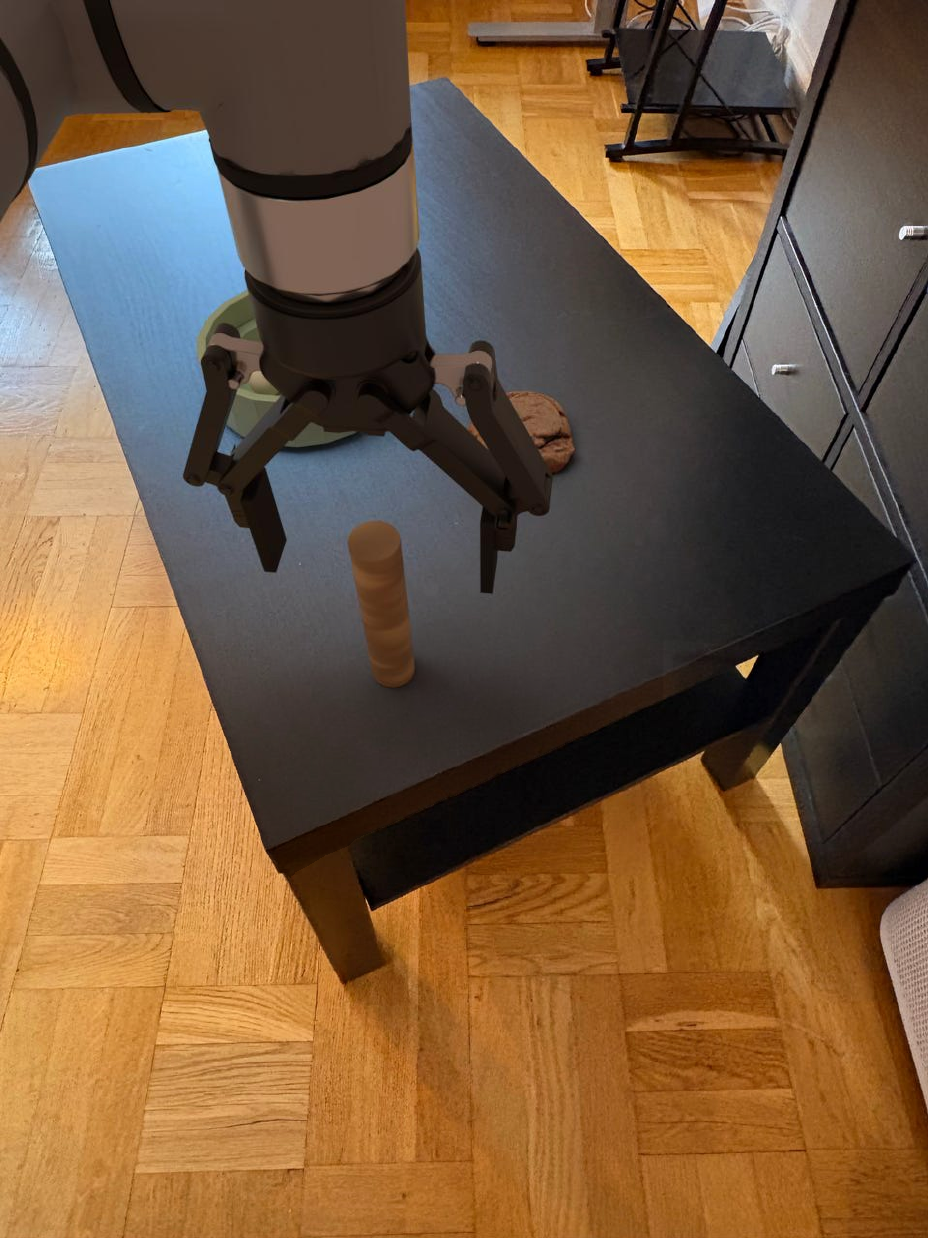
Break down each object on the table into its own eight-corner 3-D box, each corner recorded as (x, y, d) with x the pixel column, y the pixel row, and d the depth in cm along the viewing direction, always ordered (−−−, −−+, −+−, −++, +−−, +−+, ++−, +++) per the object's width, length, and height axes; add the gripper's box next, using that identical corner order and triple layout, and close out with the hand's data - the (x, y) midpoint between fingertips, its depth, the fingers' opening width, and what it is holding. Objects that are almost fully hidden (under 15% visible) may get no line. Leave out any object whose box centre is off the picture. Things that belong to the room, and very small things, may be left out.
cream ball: (249, 402, 79) (241, 376, 76) (257, 381, 81) (250, 355, 78) (280, 404, 79) (274, 379, 76) (288, 383, 80) (282, 357, 78)
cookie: (574, 406, 79) (577, 381, 77) (572, 489, 73) (576, 464, 71) (468, 401, 80) (468, 375, 77) (458, 482, 74) (458, 458, 71)
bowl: (189, 444, 77) (169, 392, 72) (243, 324, 87) (229, 271, 82) (378, 461, 75) (372, 409, 71) (411, 337, 85) (407, 284, 80)
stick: (368, 685, 62) (342, 558, 50) (376, 649, 64) (353, 517, 52) (410, 690, 62) (395, 563, 50) (417, 653, 64) (404, 522, 52)
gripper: (633, 219, 36) (584, 537, 54) (82, 188, 39) (207, 503, 56) (629, 328, 32) (577, 635, 50) (11, 286, 34) (170, 594, 52)
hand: (381, 566), depth 53 cm, fingers open, 13 cm apart
